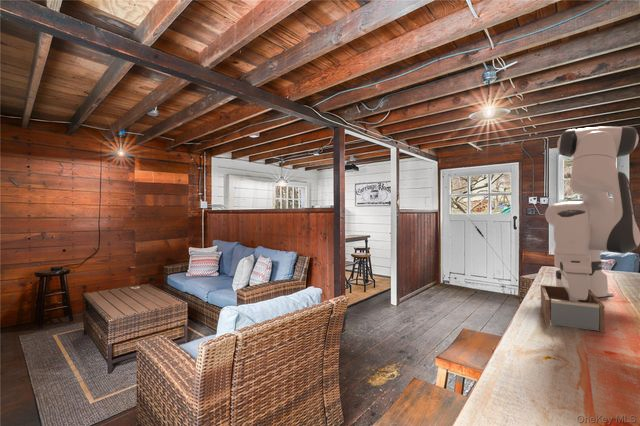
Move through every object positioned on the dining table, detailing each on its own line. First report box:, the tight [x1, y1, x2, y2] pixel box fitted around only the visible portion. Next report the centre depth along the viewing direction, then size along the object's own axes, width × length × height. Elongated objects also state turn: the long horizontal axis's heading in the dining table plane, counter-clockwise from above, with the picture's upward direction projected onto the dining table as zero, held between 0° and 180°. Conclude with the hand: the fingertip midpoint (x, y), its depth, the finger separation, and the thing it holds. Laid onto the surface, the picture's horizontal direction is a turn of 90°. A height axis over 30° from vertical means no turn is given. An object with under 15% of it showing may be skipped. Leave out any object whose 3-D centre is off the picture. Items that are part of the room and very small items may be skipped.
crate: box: [540, 284, 606, 333], centre depth 102 cm, size 20×14×8 cm
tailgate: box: [550, 299, 600, 332], centre depth 93 cm, size 1×11×8 cm, turn 58°
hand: (573, 306), depth 94 cm, fingers closed
